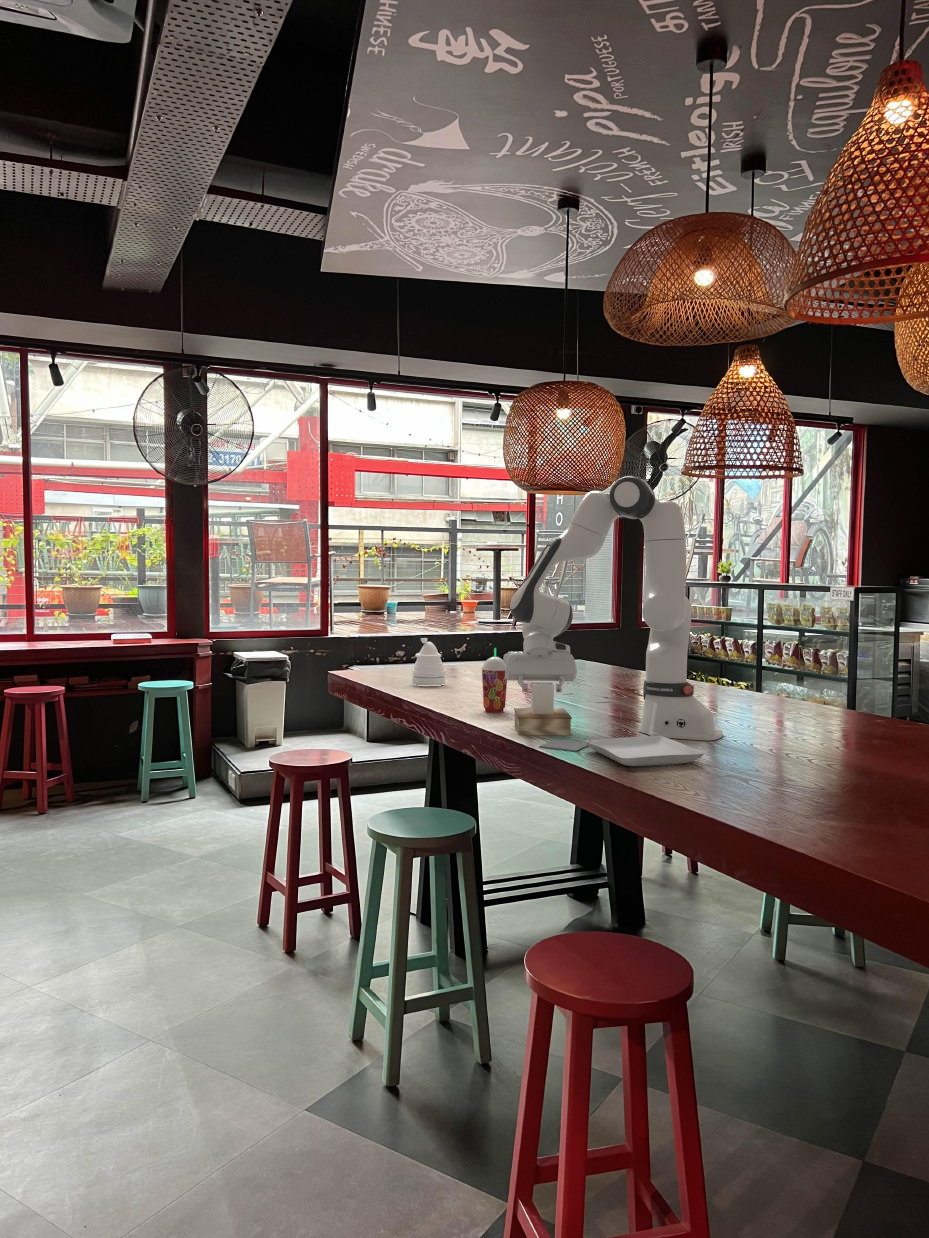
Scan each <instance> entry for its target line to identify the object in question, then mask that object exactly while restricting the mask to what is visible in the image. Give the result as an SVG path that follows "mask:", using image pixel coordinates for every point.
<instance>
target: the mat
mask: <svg viewBox="0 0 929 1238" xmlns="http://www.w3.org/2000/svg"><path fill="white" fill-rule="evenodd" d="M588 747H589V746H588V744H587V743H586V742H583V741H581V742H580V741H573V740H565V739H563V740H562V739H556V738H555V739H552V740H550V741H548V742H545V743H542V744H540V745H538V748H542V749H548V750H549V749H550V750H558V751H565V750H567V752H573V751H574V752H575V753H577V752H579V750H580V751H582V750H584V749H585V748H588ZM583 748H584V749H583ZM581 749H582V750H581Z"/></svg>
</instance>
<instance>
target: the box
mask: <svg viewBox="0 0 929 1238" xmlns="http://www.w3.org/2000/svg"><path fill="white" fill-rule="evenodd" d="M513 711H514V727H515V730H516V732H517V735H518V736H571V725H572V723H571V722H572V716H571V714H570V713H569V712H568V711H567V710H566V709H565V708H553V714H533V713H532V712H531V707H530V708H529V707H528V708H527V707H523V708H522V707H519V708H518V707H515V708H513Z"/></svg>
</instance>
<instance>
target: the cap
mask: <svg viewBox="0 0 929 1238" xmlns="http://www.w3.org/2000/svg"><path fill="white" fill-rule="evenodd" d="M530 689H531V690H530V693H531V695H530V696H531V697H530V708H531V712H532V713H533V714H553V709H554V702H555V701H554V700H555V699H554V698H555V686H554V684H553V682H542V681H535V682H534V681H531V688H530Z"/></svg>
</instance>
